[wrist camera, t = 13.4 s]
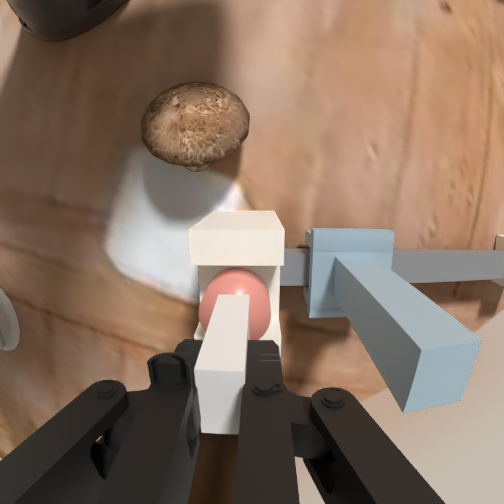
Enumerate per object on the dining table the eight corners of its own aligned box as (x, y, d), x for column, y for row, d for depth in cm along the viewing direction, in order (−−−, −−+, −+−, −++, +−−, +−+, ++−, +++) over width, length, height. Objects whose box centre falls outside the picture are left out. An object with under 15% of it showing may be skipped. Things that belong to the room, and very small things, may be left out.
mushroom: (199, 212, 23) (184, 155, 17) (135, 162, 25) (112, 109, 20) (268, 149, 26) (271, 90, 20) (201, 111, 28) (193, 57, 22)
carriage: (302, 300, 26) (354, 451, 10) (305, 223, 25) (387, 302, 9) (370, 298, 26) (473, 423, 10) (377, 224, 25) (519, 291, 9)
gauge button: (207, 325, 19) (200, 346, 16) (204, 267, 18) (196, 280, 15) (268, 326, 18) (270, 347, 16) (269, 267, 18) (271, 281, 15)
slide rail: (216, 302, 28) (196, 362, 18) (213, 210, 26) (188, 229, 17) (504, 291, 28) (560, 324, 18) (514, 222, 26) (578, 239, 16)
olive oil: (167, 422, 32) (106, 616, 7) (153, 344, 29) (30, 574, 5) (261, 427, 31) (263, 641, 7) (263, 347, 29) (269, 631, 5)
